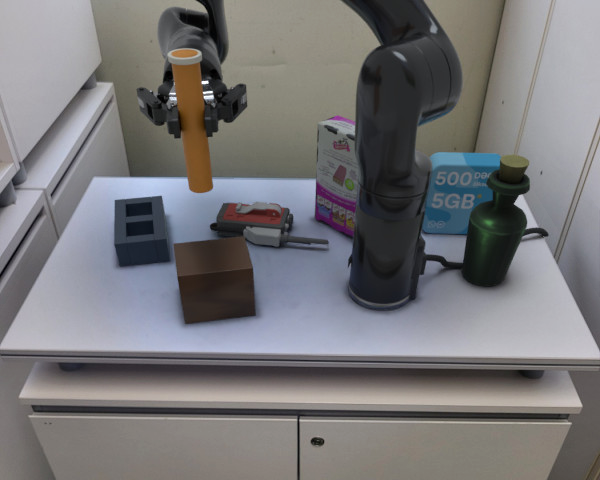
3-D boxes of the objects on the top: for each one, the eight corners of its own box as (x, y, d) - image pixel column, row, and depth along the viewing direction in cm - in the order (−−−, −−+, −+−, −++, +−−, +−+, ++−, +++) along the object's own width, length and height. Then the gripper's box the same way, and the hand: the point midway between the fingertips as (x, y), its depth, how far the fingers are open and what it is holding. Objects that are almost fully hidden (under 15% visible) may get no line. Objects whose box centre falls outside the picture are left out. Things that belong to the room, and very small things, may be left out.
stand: (247, 282, 89) (244, 235, 83) (255, 315, 84) (253, 267, 78) (181, 290, 88) (173, 243, 82) (185, 324, 82) (176, 276, 76)
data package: (420, 233, 99) (432, 164, 90) (417, 219, 102) (429, 151, 93) (491, 235, 99) (511, 165, 90) (486, 221, 102) (505, 153, 93)
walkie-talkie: (206, 242, 97) (327, 253, 95) (203, 217, 93) (328, 229, 91) (219, 215, 103) (333, 225, 101) (217, 191, 99) (335, 201, 97)
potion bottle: (493, 257, 94) (526, 144, 81) (519, 286, 89) (558, 171, 76) (447, 264, 93) (472, 150, 80) (470, 294, 88) (502, 178, 74)
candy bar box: (380, 233, 99) (393, 134, 87) (360, 244, 97) (370, 144, 85) (333, 208, 104) (338, 112, 93) (313, 218, 102) (315, 121, 90)
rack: (165, 217, 102) (161, 195, 99) (170, 261, 93) (166, 238, 90) (119, 221, 101) (114, 199, 98) (119, 266, 92) (114, 244, 89)
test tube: (214, 179, 75) (200, 47, 64) (217, 193, 72) (203, 57, 61) (185, 182, 74) (166, 49, 63) (187, 195, 72) (168, 60, 61)
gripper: (132, 45, 74) (120, 95, 62) (245, 41, 75) (254, 90, 63) (144, 107, 79) (135, 165, 67) (248, 103, 80) (257, 159, 69)
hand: (192, 128), depth 65 cm, fingers closed on test tube, 3 cm apart
